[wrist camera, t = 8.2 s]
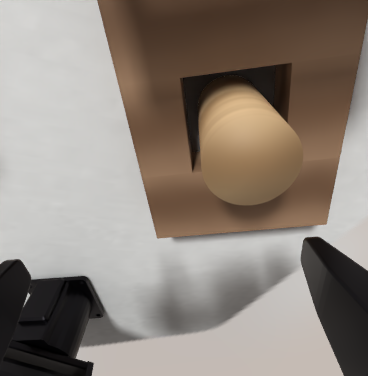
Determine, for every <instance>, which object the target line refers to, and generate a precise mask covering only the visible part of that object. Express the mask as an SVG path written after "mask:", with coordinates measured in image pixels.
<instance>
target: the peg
mask: <svg viewBox="0 0 368 376" xmlns="http://www.w3.org/2000/svg"><path fill="white" fill-rule="evenodd" d="M197 111H198V125H199V140H200V154H201V169H202V175H203V178H204V181H205V183H206V185H207V187H208V188H209V189H210V191H211V192H212V193H213V194H214V195H216V196H217V197H218V198H220V199H222V200H224V201H226V202H228V203H232V204H236V205H257V204H261V203H264V202H267V201H270V200H272V199H274V198H276V197H277V196H279V195H281V194H282V193H283V192H285V191H286V190H287V189H288V188H289V187H290V186H291V185H292V183H293V182H294V181H295V179H296V178H297V176H298V174H299V172H300V170H301V167H302V162H303V148H302V144H301V141H300V139H299V137H298V136H297V134H296V133H295V131H294V130H293V129H292V128H291V127H290V126H289V125H288V123H287V122H286V121H285V120H284V119H283V118H282V117H281V116H280V115H279V113H278V112H277V111H276V110H275V109H274V108H273V107H272V106H271V105H270V103H269V102H268V101H267V100H266V99H265V98H264V97H263V96H262V94H261V93H260V92H259V91H258V90H257V89H256V88H255V87H254V86H253V84H252V83H251V82H250V81H248V80H247V79H245V78H243V77H241V76H237V75H224V76H221V77H218V78H216V79H214V80H213V81H211V82H210V83H209V84H208V85H207V86H206V87H205V88H204V89H203V91H202V93H201V95H200V97H199V100H198V106H197Z"/></svg>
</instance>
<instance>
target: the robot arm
mask: <svg viewBox="0 0 368 376" xmlns="http://www.w3.org/2000/svg"><path fill="white" fill-rule="evenodd" d="M301 264H302V267H303V270H304V274H305V277H306V280H307V283H308V286H309V290H310V293H311V296H312V300H313V303H314V306H315V309H316V312H317V314H318V317H319V319H320V322H321V324H322V326H323V329H324V331H325V333H326V336H327V338H328V340H329V342H330V345H331V347H332V349H333V352H334V354H335V356H336V358H337V361H338V363H339V365H340V368H341V370H342V372H343V375H344V376H368V271H367V270H366V269H364V268H363V267H362V266H360V265H359V264H357V263H356V262H354V261H353V260H352V259H350V258H349V257H347V256H346V255H345V254H343V253H342V252H340V251H339V250H337V249H336V248H335V247H333V246H332V245H330V244H329V243H327V242H326V241H325V240H323V239H322V238H320V237H307V238H305V239H304V241H303V246H302V252H301ZM28 292H29V294H30V297H29V298H28V300H27V302H26V304H25V305H24V303H25V300H26V297H27V294H28ZM23 306H24V307H23ZM103 314H104V311H103V309H102V307H101V305H100V303H99V301H98V299H97V297H96V295H95V293H94V291H93V289H92V287H91V285H90V283H89V281H88V279H87V278H86V277H83V276H78V277H64V278H50V279H37V280H31V275H30V274H29V272H28V270H27V269H26V267H25V265H24V264H23V262H22V261H21V260H19V259H14V260H6V261H4V262H2V263H1V264H0V376H92V370H93V363H92V362H89V361H88V362H85V361H82V360H78V359H75V358H76V355H77V352H78V350H79V347H80V344H81V341H82V338H83V335H84V332H85V329H86V326H87V323H88V320H89V318H101V317H103Z"/></svg>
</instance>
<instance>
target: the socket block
mask: <svg viewBox="0 0 368 376" xmlns="http://www.w3.org/2000/svg"><path fill="white" fill-rule="evenodd" d="M97 1H98V5H99V9H100V13H101V17H102V21H103V25H104V29H105V33H106V37H107V41H108V45H109V49H110V53H111V57H112V61H113V64H114V68H115V72H116V76H117V80H118V84H119V88H120V92H121V96H122V100H123V104H124V108H125V112H126V116H127V120H128V124H129V128H130V132H131V136H132V140H133V144H134V148H135V152H136V156H137V160H138V164H139V168H140V172H141V176H142V180H143V184H144V188H145V192H146V196H147V200H148V204H149V207H150V211H151V215H152V219H153V223H154V227H155V231H156V235H157V238H168V237H180V236H192V235H204V234H216V233H228V232H240V231H252V230H264V229H276V228H289V227H301V226H313V225H325V224H327V219H328V214H329V209H330V204H331V199H332V194H333V189H334V184H335V179H336V174H337V169H338V164H339V159H340V154H341V149H342V144H343V139H344V134H345V129H346V124H347V119H348V114H349V109H350V104H351V99H352V94H353V89H354V84H355V79H356V74H357V69H358V64H359V59H360V54H361V49H362V44H363V39H364V34H365V29H366V24H367V19H368V0H97ZM271 65H276V67H275V88H274V109H275V110H276V111H277V112H278V113H279V115H280V116H281V117H282V118H283V119H284V120H285V121H286V122H287V123H288V125H289V126H290V127H291V128H292V129H293V130H294V131H295V133H296V134H297V136H298V137H299V139H300V141H301V144H302V148H303V162H302V167H301V170H300V172H299V174H298V176H297V178H296V179H295V181H294V182H293V183H292V185H291V186H290V187H289V188H288V189H287V190H286V191H285V192H283V193H282V194H281V195H279V196H277V197H276V198H274V199H272V200H270V201H267V202H264V203H261V204H257V205H236V204H232V203H228V202H226V201H224V200H222V199H220V198H218V197H217V196H216V195H214V194H213V193H212V192H211V191H210V189H209V188H208V187H207V185H206V183H205V181H204V178H203V175H202V169H201V154H200V151H199V152H192V147H191V139H190V131H189V123H188V116H187V108H186V100H185V92H184V84H183V78H184V77H191V76H198V75H206V74H213V73H220V72H228V71H235V70H242V69H250V68H257V67H264V66H271Z"/></svg>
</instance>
